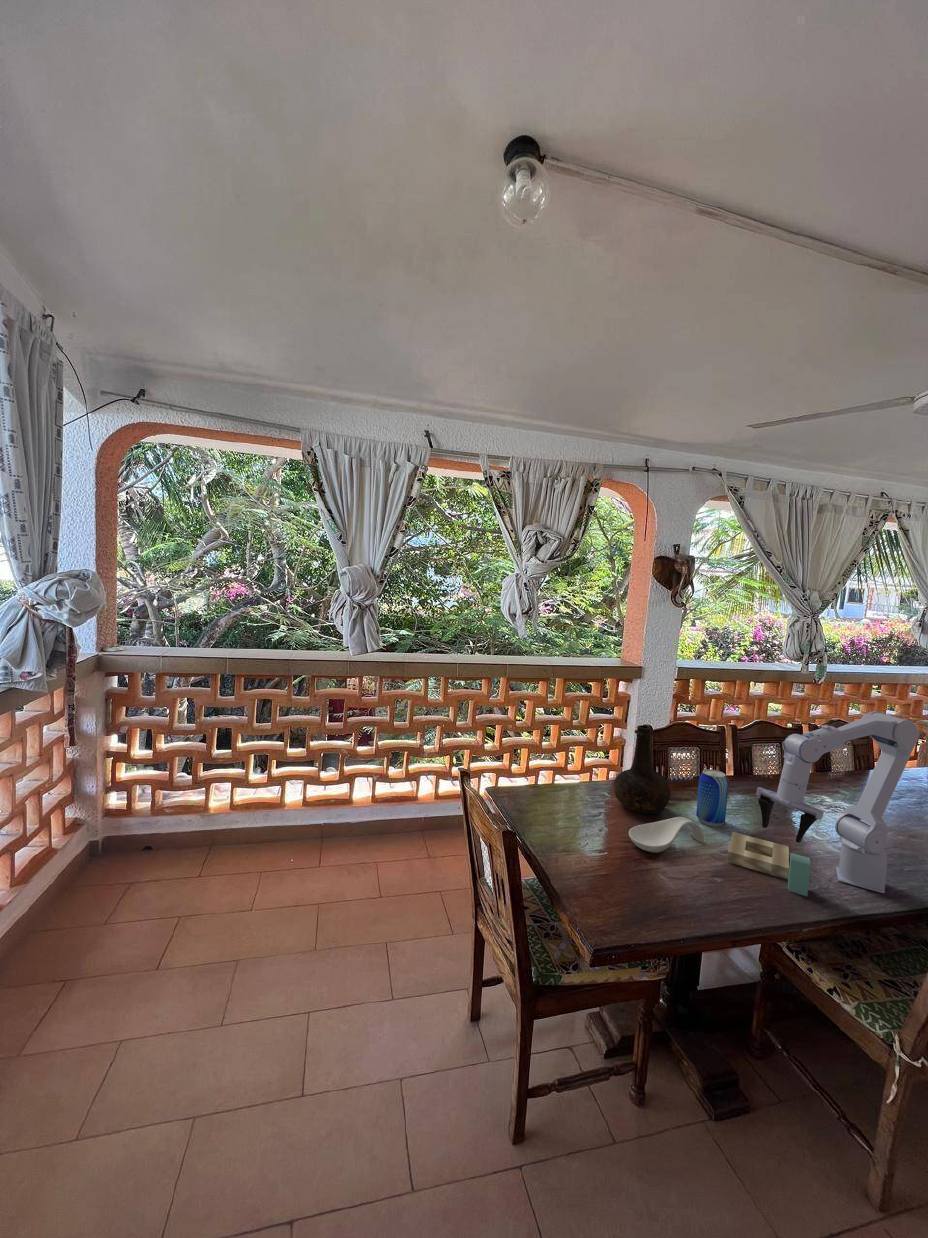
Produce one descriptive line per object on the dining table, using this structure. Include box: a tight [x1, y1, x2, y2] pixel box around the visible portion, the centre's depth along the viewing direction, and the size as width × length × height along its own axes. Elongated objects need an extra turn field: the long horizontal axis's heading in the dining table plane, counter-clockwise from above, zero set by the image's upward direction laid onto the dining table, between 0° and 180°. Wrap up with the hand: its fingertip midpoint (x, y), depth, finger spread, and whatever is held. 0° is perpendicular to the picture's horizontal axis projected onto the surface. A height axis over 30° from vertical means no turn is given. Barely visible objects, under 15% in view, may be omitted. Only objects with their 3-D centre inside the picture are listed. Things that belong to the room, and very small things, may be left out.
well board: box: [726, 831, 790, 880], centre depth 141 cm, size 14×14×3 cm
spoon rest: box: [628, 816, 705, 854], centre depth 148 cm, size 24×12×7 cm, turn 111°
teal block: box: [787, 852, 811, 897], centre depth 127 cm, size 4×4×8 cm
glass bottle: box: [613, 724, 671, 815], centre depth 171 cm, size 18×18×28 cm
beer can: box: [695, 768, 729, 828], centre depth 164 cm, size 8×8×16 cm
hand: (781, 834), depth 130 cm, fingers open, 7 cm apart
